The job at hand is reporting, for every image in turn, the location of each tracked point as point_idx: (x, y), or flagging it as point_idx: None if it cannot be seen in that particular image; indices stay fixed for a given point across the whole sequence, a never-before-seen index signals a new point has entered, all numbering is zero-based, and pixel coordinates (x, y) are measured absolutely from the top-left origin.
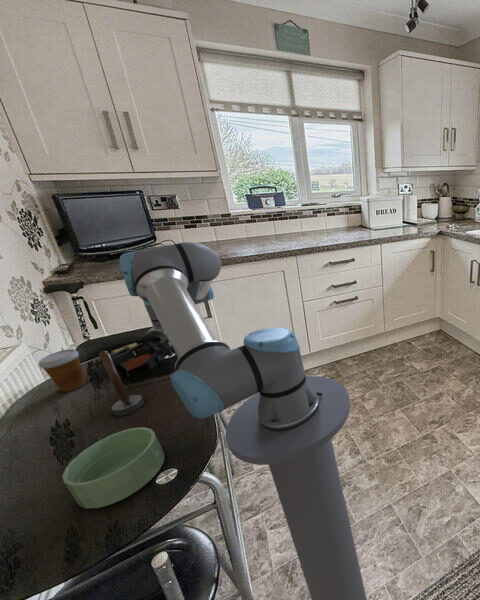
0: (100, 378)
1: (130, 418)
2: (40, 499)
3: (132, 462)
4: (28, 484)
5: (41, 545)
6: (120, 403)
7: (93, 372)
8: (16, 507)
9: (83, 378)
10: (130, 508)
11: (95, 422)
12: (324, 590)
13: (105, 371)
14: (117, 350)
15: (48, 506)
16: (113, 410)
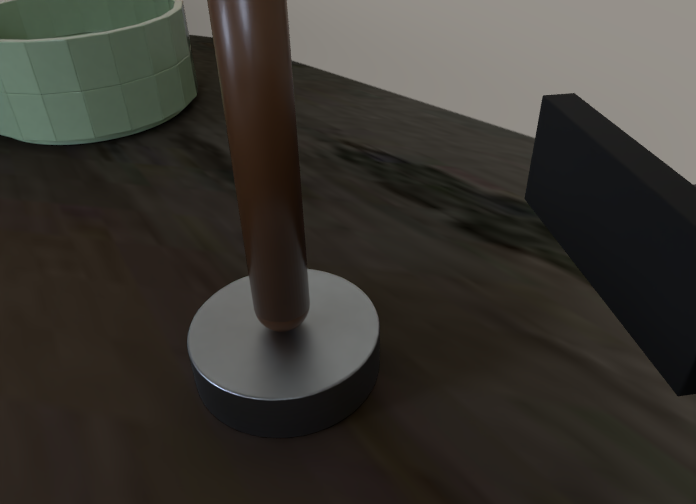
0: (528, 196)
1: (215, 279)
2: (299, 91)
3: (2, 2)
4: (388, 112)
5: (204, 53)
6: (329, 319)
7: (573, 96)
8: (345, 85)
9: None
10: None
11: (427, 281)
12: None
13: (592, 242)
14: None
15: None
16: (334, 278)
